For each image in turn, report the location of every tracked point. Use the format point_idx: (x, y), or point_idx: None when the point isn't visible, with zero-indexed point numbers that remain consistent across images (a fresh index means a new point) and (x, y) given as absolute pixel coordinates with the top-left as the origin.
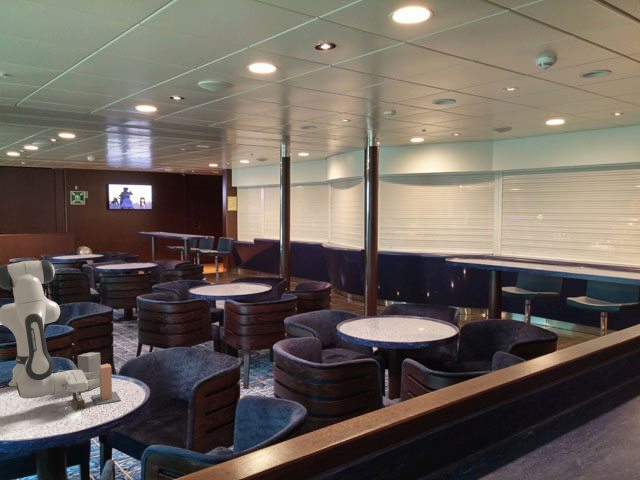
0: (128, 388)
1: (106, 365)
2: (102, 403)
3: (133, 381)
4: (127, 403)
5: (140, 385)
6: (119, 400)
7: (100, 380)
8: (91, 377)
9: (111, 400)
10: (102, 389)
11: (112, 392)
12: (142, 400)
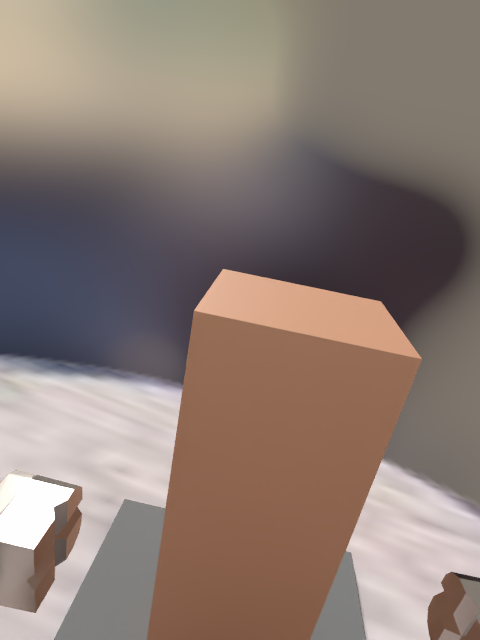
0: (115, 425)
1: (274, 294)
2: None
3: (25, 368)
4: (419, 547)
5: (127, 379)
6: (351, 566)
7: (212, 532)
8: (41, 601)
9: (339, 624)
10: (313, 622)
11: (125, 525)
12: (386, 466)
